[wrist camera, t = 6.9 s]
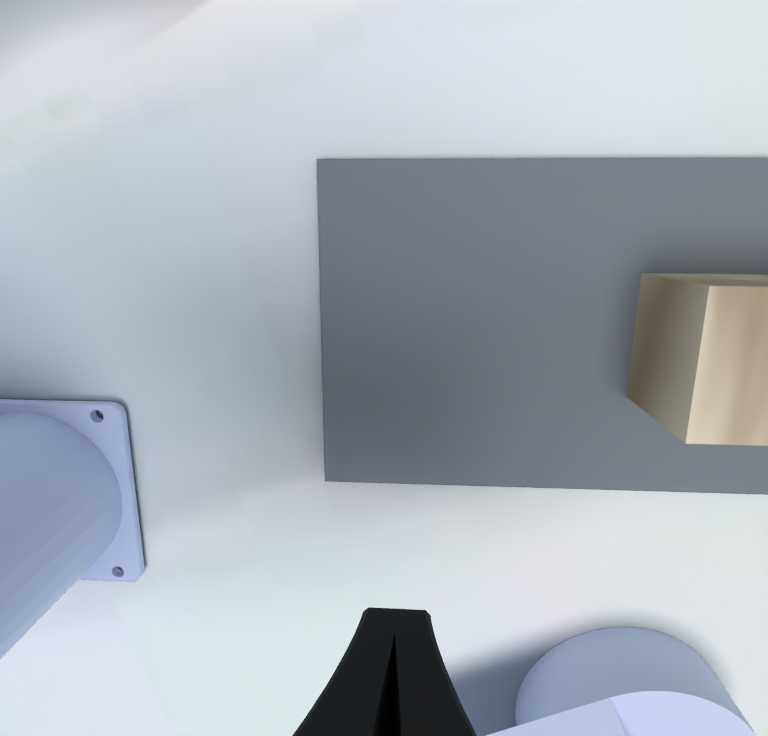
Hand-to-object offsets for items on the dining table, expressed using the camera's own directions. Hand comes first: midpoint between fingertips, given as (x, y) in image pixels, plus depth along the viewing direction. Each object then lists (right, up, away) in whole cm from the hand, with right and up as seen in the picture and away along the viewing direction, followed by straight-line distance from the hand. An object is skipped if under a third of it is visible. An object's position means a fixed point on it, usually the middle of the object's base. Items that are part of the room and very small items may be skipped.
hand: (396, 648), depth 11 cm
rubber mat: (+8, +7, +8) cm, 14 cm away
